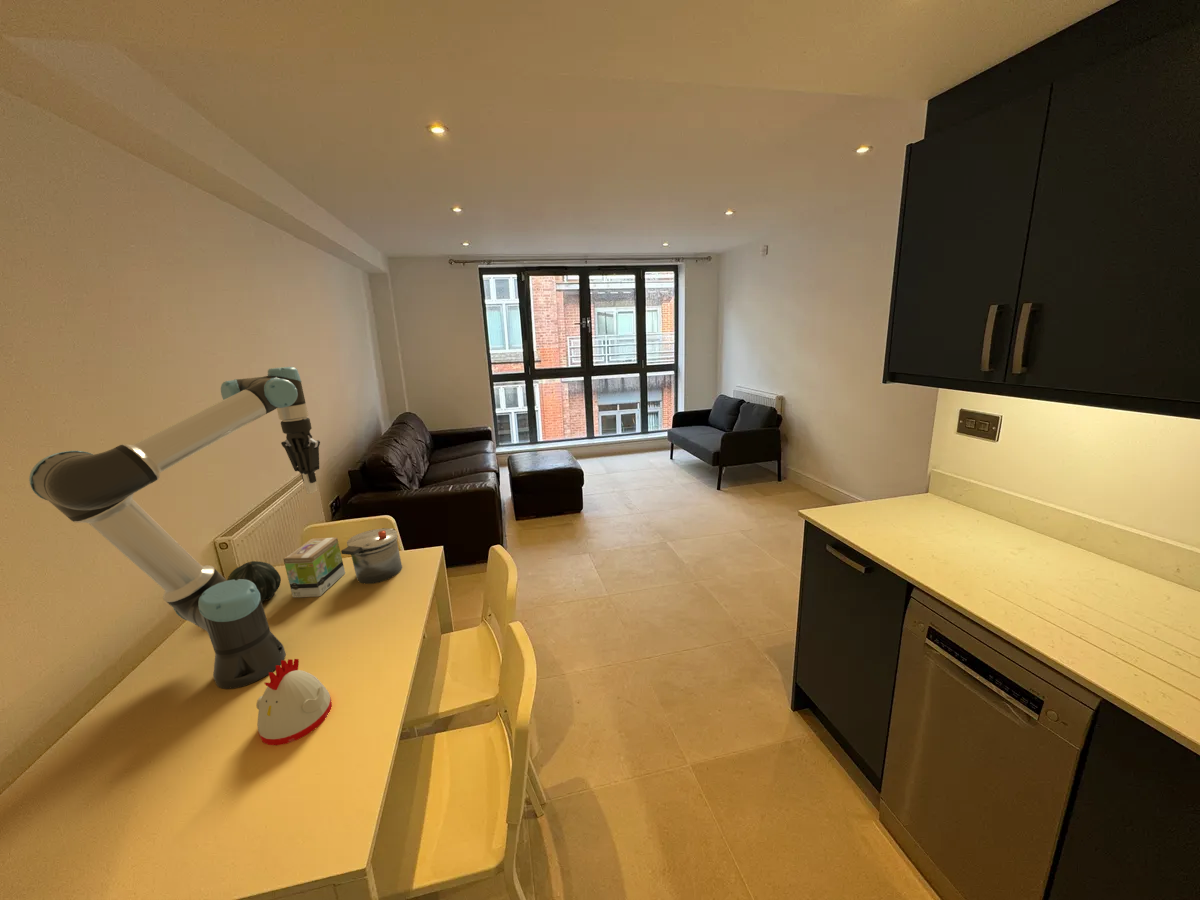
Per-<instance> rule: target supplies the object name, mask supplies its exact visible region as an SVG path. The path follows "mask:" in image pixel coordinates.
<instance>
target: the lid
mask: <svg viewBox="0 0 1200 900" xmlns="http://www.w3.org/2000/svg"><path fill="white" fill-rule="evenodd" d="M396 531H397V530H396V529H395V528H387V527H386V528H385V527H383V528H377V529H372V530H367V531H363V532H361V533H358V534H355V535H353V536H351V537H350V538H349V539H348V540H347V541H346V547H345V548H342V549H340V552H341V555H348V556H349V555H355V554H357V553H358V552H360V551H362V550H369V549H374V548H378V547H381V546H384V545H387V544H389V543H391V542H393V541H394V540H395V539H396V538H397V539H398V537H397V536H398V531H397V532H396Z"/></svg>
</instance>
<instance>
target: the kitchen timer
mask: <svg viewBox="0 0 1200 900" xmlns="http://www.w3.org/2000/svg"><path fill="white" fill-rule="evenodd" d="M299 661H300V659H299V658H294V660H293V659H291V658H288V659H287V661H286V660H285V659H284V660H281V664H280V665H276V669H275V672H269V674H268V677H269V680H270V681H269V682H264V685H265V686H267V687H266V688H265V690H264V692H263V694H262V695H261V696H259V697H258V699H257V701H256V709H257V710H258V711H257V713H258V715H257V731H258V732H257V733H258V735H259V738H260V739H261V741H262V743H263V744H266V745H268V746H279V745H286V744H289V743H292V742H295V741H297V740H299V739H301V738H303V737H305V736H307V735H309V734H311V731H312V732H313V731H314V730H316V729H317V728H318V727H320V725H321V724H322V723H324V721H325V720H326V719H327V718H328V716H329V715H328V713H329V712H331V711H330V710H332V708H331V707H333V703H332V702H333V701H332V698H331V697H332V696H331V694H330V692H329V690H328V689H327V688H326V686H325V685H324V684H323V683H322V682H321V681H320V679H318V678H317V677H316V676H315V675H314V674H312V673H310V672H307V671H305V670H302V669H299ZM331 701H332V702H331ZM329 714H330V713H329ZM327 715H328V716H327ZM325 718H326V719H325ZM315 728H316V729H315Z"/></svg>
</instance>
